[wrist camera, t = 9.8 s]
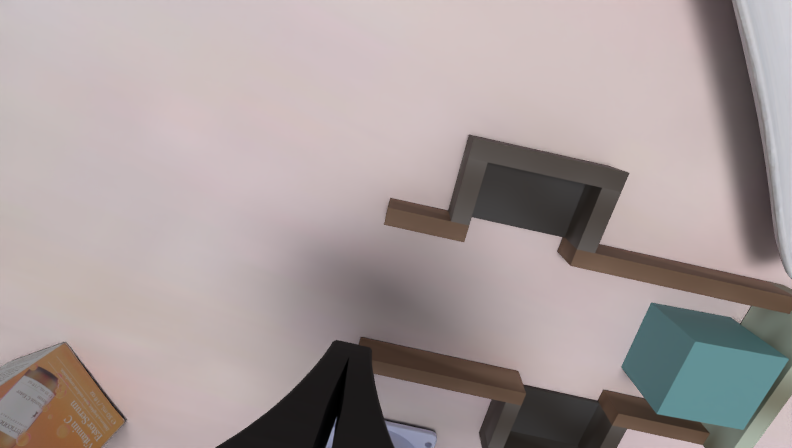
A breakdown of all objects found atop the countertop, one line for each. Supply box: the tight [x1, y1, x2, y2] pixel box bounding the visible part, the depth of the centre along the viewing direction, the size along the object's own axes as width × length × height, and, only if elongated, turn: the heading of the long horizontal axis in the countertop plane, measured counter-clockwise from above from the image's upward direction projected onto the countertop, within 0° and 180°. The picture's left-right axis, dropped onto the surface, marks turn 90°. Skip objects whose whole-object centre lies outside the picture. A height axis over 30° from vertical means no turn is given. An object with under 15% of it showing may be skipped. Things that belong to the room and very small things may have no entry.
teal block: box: [622, 303, 789, 430], centre depth 22 cm, size 5×5×4 cm
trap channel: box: [359, 135, 792, 448], centre depth 22 cm, size 20×24×4 cm
